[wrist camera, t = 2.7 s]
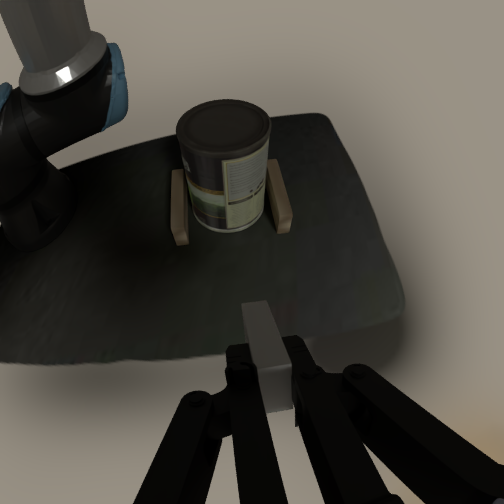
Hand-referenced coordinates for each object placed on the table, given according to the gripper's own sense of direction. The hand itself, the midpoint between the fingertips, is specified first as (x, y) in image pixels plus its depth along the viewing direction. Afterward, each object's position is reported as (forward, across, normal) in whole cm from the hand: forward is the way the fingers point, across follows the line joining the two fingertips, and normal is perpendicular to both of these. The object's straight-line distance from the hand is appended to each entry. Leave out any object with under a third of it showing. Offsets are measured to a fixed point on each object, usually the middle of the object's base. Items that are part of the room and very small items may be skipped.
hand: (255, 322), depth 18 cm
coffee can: (+27, 0, +4) cm, 27 cm away
